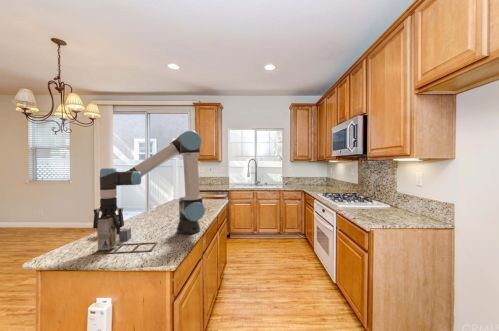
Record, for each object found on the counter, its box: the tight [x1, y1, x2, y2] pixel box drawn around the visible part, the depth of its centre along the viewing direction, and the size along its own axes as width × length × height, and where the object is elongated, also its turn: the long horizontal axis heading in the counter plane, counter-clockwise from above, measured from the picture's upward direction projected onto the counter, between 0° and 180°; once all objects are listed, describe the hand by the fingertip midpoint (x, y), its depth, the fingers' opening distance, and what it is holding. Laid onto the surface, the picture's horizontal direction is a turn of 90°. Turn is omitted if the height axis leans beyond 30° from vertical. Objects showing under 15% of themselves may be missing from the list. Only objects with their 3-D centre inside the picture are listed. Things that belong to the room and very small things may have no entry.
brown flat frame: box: [92, 241, 158, 256], centre depth 124 cm, size 28×13×1 cm, turn 98°
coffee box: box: [96, 214, 121, 251], centre depth 122 cm, size 9×6×16 cm
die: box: [119, 227, 132, 243], centre depth 138 cm, size 6×6×6 cm
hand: (109, 240), depth 123 cm, fingers closed on coffee box, 7 cm apart
